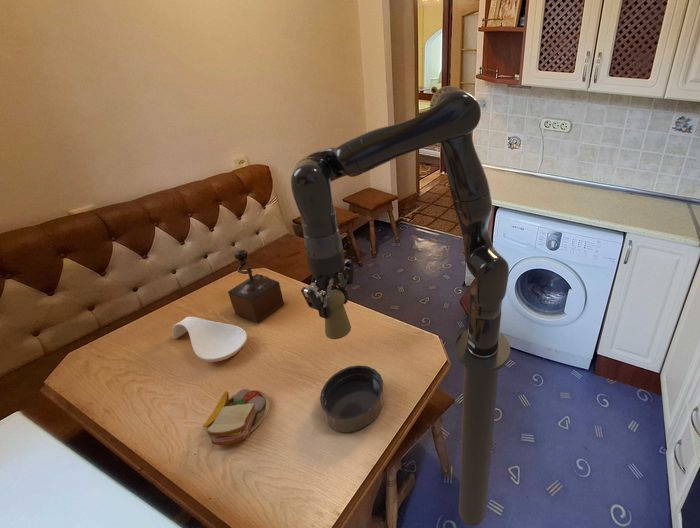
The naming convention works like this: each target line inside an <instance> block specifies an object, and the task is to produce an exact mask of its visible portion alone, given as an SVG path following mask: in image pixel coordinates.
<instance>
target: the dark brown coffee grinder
mask: <svg viewBox="0 0 700 528" xmlns="http://www.w3.org/2000/svg"><path fill="white" fill-rule="evenodd" d="M248 255H249V254H248V251H247V250H246V249H238V250H237V251H236V252H235V253H234V254H233V257H234V259H236V260H237V261H239V266H238V267H237V269H236V270H237V273H239V274H244V275H248V277H249V278H248V279H246V280H244V281H242V282H241V283H239V284H237V285H236V286H234V287H233V288H231V289H229V290H228V291H227V294H228V296H229V300H230V303H231V306H232V309H233V311H234V314H235V315H236V316H237V317H238V318H241V319H244V320H246V321H249V322H252V323H254V324H256V325H259V324H260V323H261V322H263V321H265V320H266V319H268V318H269V317H270V316H272V314H274V313H276V312H277V311H279V309H281V308H282V307H283V306H284V305H285V301H284V298H283V293H282V290H281V289H282V288H281V285H280V282H279V281H278V280H275V279H273V278H270V277H268V276H265V275H263V274H258V273H256V274H254V275H253V270H252V267H251V266H247V267H246V270H242V269H243V268H244V266H246V265H247V264H248V263H249V262H250V260H249V259H248Z"/></svg>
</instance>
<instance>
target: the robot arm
mask: <svg viewBox="0 0 700 528" xmlns="http://www.w3.org/2000/svg"><path fill="white" fill-rule="evenodd" d="M481 109H482V108H481V106H480V104H479V102H478V100H477V99H476V98H475V97H474V96H473V95H472V94H470V93H469V92H468V91H465V90H463V89H461V88H460V87H456V86H452V85H447V86H446V85H445V86H442V87H440V88H439V89H438V90H436V91H435V92H434V93H433V95H432V96H431V99H430V103H429V109H428V110H427V111H425V112H424V113H421V114H420V115H418V116H416V117H413V118H411V119H408V120H405V121H403V122H398V123H395V124H391V125H387V126H383V127H382V126H381V127H379V128H375V129H372V130H370V131H366V132H364V133H361V134H359V135H358V136H355V137H353V138H350V139H348V140H347V141H344V142H342V143H341V144H338V145H336V146H332V147H328V148H325V149H320V150H317V151H315V152H313V153H310V154H307V155H306V156H303V157H302V158H301V159H299V160H298V161H297V162H296V164H295V166H294V168H293V171H292V173H291V177H290V187H291V192H292V195H293V199H294V202H295V205H296V207H297V210H298V212H299V217H300V223H301V229H302V233H303V245H304V251H305V255H306V260H307V265H308V270H309V272H310V274H311V283H310V284H309V285H308V286H307V287H306V286H303V287H302V288H301V290H300V292H301V294H302V296H303V298H304V300H305V302H306V304H307V306H308V307H309V308H311V309H313V310H316V311H318V316H319V317H320V318H323V319H324V320H325V319H328V318H330V313H329V307H328V305H327V304H328V297H330V295H331V290H333V289H334V288H335V287H336V288H337V289H336V290H340V291H341V292H342V293H343V294H344V297H345V301H344V304H343V305H346V304H348V300H349V295H348V289H349V285H352V284H353V282H354V266H355V265H354V264H355V263H354V260H351V259H347V258H345V254H344V253H345V252H344V247H343V240H342V239H343V238H342V234H341V231H340V227H339V221H338V214H337V210H336V207H335V205H334V203H333V196H332V184H331V183H332V182H334V181H336V180H338V179H341V178H344V177H347V176H348V177H350V178H354V177H358V176H361V175H363V174H365V173H367V172H369V171H371V170H374V169H375V168H378V167H380V166H383V165H384V164H386V163H389V162H391V161H393V160H395V159H397V158H400V157H403V156H406V155H408V154H410V153H413V152H415V151H418V150H422V149H425V148H427V147H430V146H433V145H436V144H440V146H441V149H442V153H443V158H444V164H445V170H446V176H447V182H448V185H449V191H450V196H451V201H452V203H453V208H454V212H455V215H456V219H457V222H458V225H459V229H460V232H461V236H462V241H463V248H464V257H465V259H464V260H465V264H466V267H467V270H468V271H469V273H470V274H471V275H472V277H473V278H474V279H475V281H476V285H475V286H473V287H472V288H471V289H470V291H469V298H468V321H467V322H468V323H467V330H468V341H467V349H468V351H469V353H470V354H471V355H473V356H474V357H476V358H479V359H488V358H491V357H493V356H495V355H496V354H497V352H498V348H499V333H501V323H502V322H501V321H502V309H503V300H504V298H505V297H506V294H507V289H508V284H509V283H508V282H509V278H510V277H509V276H510V266H509V262H508V261H507V260H506V259H505V258H504V256H502V254H500V253H499V252H498V250H496V248H495V247H494V245H493V242H492V239H491V236H490V235H491V234H490V232H489V231H490V230H489V223H490V220H491V218H492V217H491V216H492V213H493V201H492V195H491V190H490V184H489V181H488V176H487V174H486V172H485V170H484V166H483V164H482V162H481V159H480V158H479V156H478V153H477V151H476V147H475V144H474V140H473V133H472V132H473V131H475V129H476V128H477V127H478V126H479V123H480V120H481V116H482V110H481ZM322 297H323V301H322V300H321V298H322Z"/></svg>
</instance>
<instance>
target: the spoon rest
mask: <svg viewBox="0 0 700 528" xmlns="http://www.w3.org/2000/svg"><path fill="white" fill-rule="evenodd" d="M187 332H188V336H189V340H190V344H191V346H192V347H191V348H192V350H193V352H194V353H195V355H196V356H197V357H198V358H199V359H200V360H201V361H204V362H210V363H212V362H213V363H215V362H216V363H217V362H221V361H226V360H228V359H229V358H231V357H233V356H234V355H236V354H237V353H238V352H239V351H240V350H241V349H242V348H243V347H244V345H245V344H246V342H247V340H248V334H247V331H245V329H243V328H242V327H240V326H237V325H235V324H230V323H225V322H219V321H213V320H209V319H204V318H200V317H196V316H186V317H185V318H184V319H182V320H181V321H178V322H177V323H175V324H174V325H173V327H172V330H171V336H172V339H179V338H180V337H181V336H183V335H185V334H186V333H187Z"/></svg>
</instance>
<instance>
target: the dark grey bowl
mask: <svg viewBox="0 0 700 528" xmlns="http://www.w3.org/2000/svg"><path fill="white" fill-rule="evenodd" d="M384 386H385V385H384V380H383V378H382V376H381V374H380V372H378V371H377V370H376V369H375V368H373V367H370V366H368V365H360V364H359V365H352V366H348V367H347V366H346V367H345V368H343V369H340V370H339V371H337V372H335V373H334V374H333V375H331V376H330V377H329V379H328V380H327V381H325V383H324V385H323V387H322V389H321V391H320V395H319V403H320V407H321V413H322V416H323V421H324V422H325V424H326V425H327V426H328V427H329V428H331V429H333V430H334V431H336V432H341V433H353V432H357V431H359V430H362V429H363V428H365V427H367V426H368V425H370V424H372V422H374V420H375V419H377V417H378V416H379V414H380V413H381V412H382V410H383V407H384V404H385V387H384Z"/></svg>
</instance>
